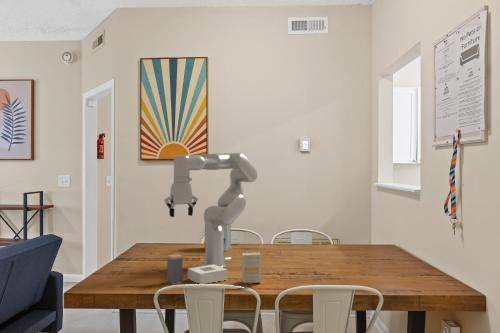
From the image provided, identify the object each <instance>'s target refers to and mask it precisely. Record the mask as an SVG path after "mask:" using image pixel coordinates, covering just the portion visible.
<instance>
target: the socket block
mask: <svg viewBox="0 0 500 333" xmlns="http://www.w3.org/2000/svg"><path fill="white" fill-rule="evenodd" d="M188 279H190V280H192V281H194V282H193V283H195V282H196V283H195V284H197V283H200V284H205V283H211V284H213V283H212V282H216V283H219V282H218V281H221V282H225V281H224V280H226V281H228V269H227V268H226V267H224V268H222V267H219V266H217V265H214V264H213V265H207V266H202V265H200V266H194V267H189V268H187V280H188ZM190 280H189V281H190ZM192 281H191V282H192ZM205 285H206V284H205Z"/></svg>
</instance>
